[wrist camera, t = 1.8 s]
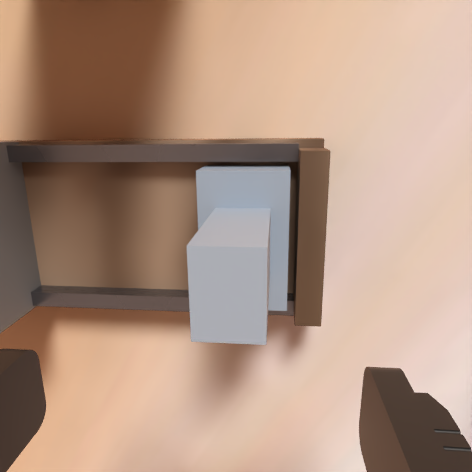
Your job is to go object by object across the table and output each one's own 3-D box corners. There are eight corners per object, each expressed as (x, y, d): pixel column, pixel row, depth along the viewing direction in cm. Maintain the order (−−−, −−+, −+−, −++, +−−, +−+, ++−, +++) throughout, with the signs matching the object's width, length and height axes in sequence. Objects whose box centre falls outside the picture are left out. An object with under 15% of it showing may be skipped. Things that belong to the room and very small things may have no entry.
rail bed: (321, 138, 24) (330, 140, 20) (313, 300, 27) (320, 334, 23) (-50, 141, 27) (-114, 144, 22) (-20, 289, 30) (-70, 317, 25)
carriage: (289, 165, 23) (296, 193, 14) (285, 289, 25) (290, 390, 16) (205, 165, 24) (156, 192, 14) (209, 287, 26) (169, 383, 16)
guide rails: (297, 142, 23) (299, 143, 22) (292, 307, 26) (293, 315, 25) (18, 144, 25) (6, 145, 23) (43, 298, 28) (33, 305, 26)
